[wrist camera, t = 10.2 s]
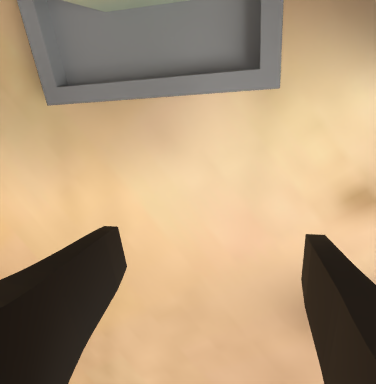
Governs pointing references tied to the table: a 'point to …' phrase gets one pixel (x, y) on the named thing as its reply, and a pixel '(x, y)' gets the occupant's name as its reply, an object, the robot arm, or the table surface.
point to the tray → (153, 49)
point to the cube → (119, 4)
